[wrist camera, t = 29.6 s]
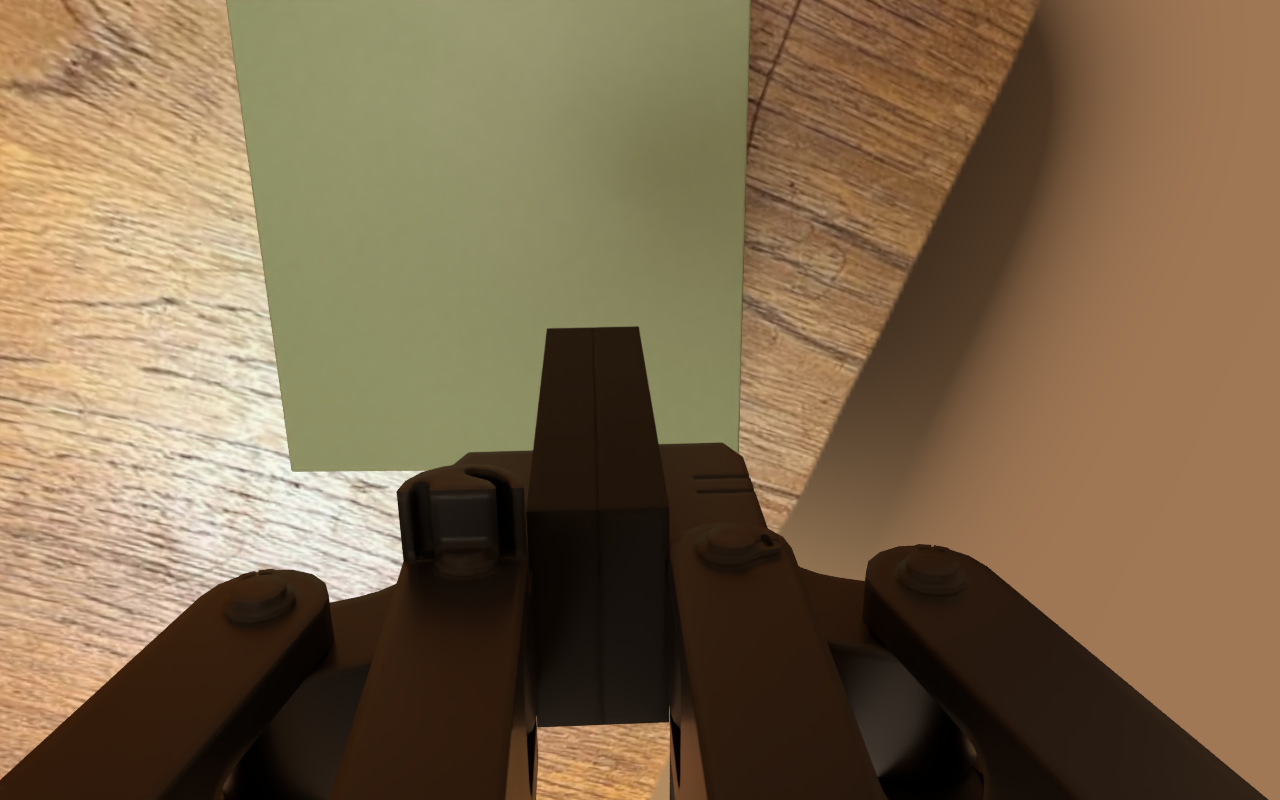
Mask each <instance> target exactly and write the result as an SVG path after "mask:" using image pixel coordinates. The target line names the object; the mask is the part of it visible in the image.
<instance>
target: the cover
mask: <svg viewBox="0 0 1280 800" xmlns="http://www.w3.org/2000/svg"><path fill="white" fill-rule="evenodd" d="M226 4H227V11H228V19H229V26H230V33H231V40H232V47H233V54H234V61H235V69H236V76H237V83H238V90H239V97H240V104H241V112H242V119H243V126H244V133H245V140H246V147H247V154H248V162H249V169H250V176H251V183H252V190H253V197H254V205H255V212H256V219H257V226H258V233H259V240H260V247H261V255H262V262H263V269H264V276H265V283H266V290H267V298H268V305H269V312H270V319H271V326H272V333H273V340H274V348H275V355H276V362H277V369H278V376H279V383H280V391H281V398H282V405H283V412H284V419H285V426H286V433H287V441H288V448H289V455H290V462H291V469H292V471H293V472H303V471H426V470H432V469H435V468H439V467H442V466H450V465H453V464H455V463H456V462H457V461H458V460H459V459H461V458H462V457H463V456H464V455H466V454H467V453H468V452H495V451H531V450H533V446H534V437H535V429H536V420H537V411H538V402H539V393H540V385H541V376H542V367H543V358H544V349H545V341H546V332H547V328H587V327H631V326H639V331H640V337H641V343H642V349H643V355H644V360H645V366H646V372H647V378H648V384H649V390H650V396H651V402H652V408H653V413H654V419H655V425H656V431H657V437H658V443H659V444H683V443H719V442H723V443H724V444H726V445H727V446H728V447H730V448H731V449H732V450H734V451H735V452H736V453H738V454H739V421H740V384H741V348H742V311H743V274H744V238H745V201H746V164H747V127H748V91H749V54H750V17H751V0H226Z"/></svg>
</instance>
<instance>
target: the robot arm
mask: <svg viewBox="0 0 1280 800" xmlns="http://www.w3.org/2000/svg"><path fill="white" fill-rule="evenodd" d="M397 500H398V510H399V520H400V530H401V540H402V550H403V560H404V562H403V565H402V568H401V572H400V575H399V578H398V581H397V584H395V585H393V586H390V587H388V588H385V589H383V590H381V591H378V592H375V593H371V594H367V595H364V596H360V597H355V598H351V599H346V600H341V601H336V602H332V603H330V602H329V595H328V591H327V588H326V584H325V583H324V582H323V581H321V580H320V579H319V578H317V577H316V576H314V575H313V574H309V573H305V572H300V571H296V570H274V569H266V570H259V572H255V571H253V572H249V573H245V574H242V575H240V576H239V577H237V578H234V579H231V580H229V581H226V582H224V583H221V584H219V585H217V586H216V587H214V588H213V589H211V590H210V591H208V592H207V593H205V594H204V595H202V596H201V597H200V598H198V599H197V600H196V601H195V602H194V603H193V604H192V605H191V606H190V607H189V608H188V609H186V610H185V611H184V612H183V613H182V614H181V615H180V616H179V617H178V618H177V619H176V620H174V621H173V622H172V623H171V624H170V625H169V626H168V627H167V628H166V629H165V630H163V631H162V632H161V633H160V634H159V635H158V636H157V637H156V638H155V639H154V640H153V641H151V642H150V643H149V644H148V645H147V646H146V647H145V648H144V649H143V650H142V651H141V652H139V653H138V654H137V655H136V656H135V657H134V658H133V659H132V660H131V661H130V662H129V663H127V664H126V665H125V666H124V667H123V668H122V669H121V670H120V671H119V672H118V673H117V674H115V675H114V676H113V677H112V678H111V679H110V680H109V681H108V682H107V683H106V684H105V685H103V686H102V687H101V688H100V689H99V690H98V691H97V692H96V693H95V694H94V695H93V696H91V697H90V698H89V699H88V700H87V701H86V702H85V703H84V704H83V705H82V706H81V707H79V708H78V709H77V710H76V711H75V712H74V713H73V714H72V715H71V716H70V717H68V718H67V719H66V720H65V721H64V722H63V723H62V724H61V725H60V726H59V727H58V728H56V729H55V730H54V731H53V732H52V733H51V734H50V735H49V736H48V737H47V738H46V739H44V740H43V741H42V742H41V743H40V744H39V745H38V746H37V747H36V748H35V749H34V750H32V751H31V752H30V753H29V754H28V755H27V756H26V757H25V758H24V759H23V760H22V761H20V762H19V763H18V764H17V765H16V766H15V767H14V768H13V769H12V770H11V771H10V772H8V773H7V774H6V775H5V776H4V777H3V778H2V779H1V780H0V800H536V789H537V772H538V742H537V727H558V726H584V725H609V724H634V723H659V722H669V707H670V800H1268V799H1267V798H1266V797H1264V796H1263V795H1262V794H1261V793H1259V792H1258V791H1257V790H1256V789H1255V788H1254V787H1252V786H1251V785H1250V784H1249V783H1248V782H1246V781H1245V780H1244V779H1243V778H1241V777H1240V776H1239V775H1238V774H1237V773H1235V772H1234V771H1233V770H1232V769H1230V768H1229V767H1228V766H1227V765H1226V764H1224V763H1223V762H1222V761H1221V760H1220V759H1219V758H1217V757H1216V756H1215V755H1214V754H1212V753H1211V752H1210V751H1209V750H1208V749H1206V748H1205V747H1204V746H1203V745H1202V744H1200V743H1199V742H1198V741H1197V740H1196V739H1194V738H1193V737H1192V736H1190V734H1188V733H1187V732H1186V731H1185V730H1184V729H1182V728H1181V727H1180V726H1179V725H1178V724H1176V723H1175V722H1174V721H1173V720H1171V719H1170V718H1169V717H1168V716H1167V715H1166V714H1164V713H1163V712H1162V711H1161V710H1159V709H1158V708H1157V707H1156V706H1154V705H1153V704H1152V703H1151V702H1150V701H1148V700H1147V699H1146V698H1145V697H1144V696H1143V695H1141V694H1140V693H1139V692H1138V691H1137V690H1135V689H1134V688H1133V687H1132V686H1131V685H1129V684H1128V683H1127V682H1126V681H1124V680H1123V679H1122V678H1121V677H1119V676H1118V675H1117V674H1116V673H1115V672H1114V671H1112V670H1111V669H1110V668H1109V667H1108V666H1106V665H1105V664H1104V663H1103V662H1102V661H1100V660H1099V659H1098V658H1097V657H1095V656H1094V655H1093V654H1092V653H1091V652H1089V651H1088V650H1087V649H1086V648H1085V647H1083V646H1082V645H1081V644H1080V643H1079V642H1077V641H1076V640H1075V639H1074V638H1073V637H1071V636H1070V635H1069V634H1068V633H1067V632H1065V631H1064V630H1063V629H1062V628H1060V627H1059V626H1058V625H1057V624H1056V623H1055V622H1053V621H1052V620H1051V619H1050V618H1048V617H1047V616H1046V615H1045V614H1044V613H1042V612H1041V611H1040V610H1039V609H1038V608H1036V607H1035V606H1034V605H1033V604H1031V603H1030V602H1029V601H1028V600H1027V599H1025V598H1024V597H1023V596H1022V595H1020V593H1018V592H1017V591H1016V590H1015V589H1014V588H1012V587H1011V586H1010V585H1009V584H1007V583H1006V582H1005V581H1004V580H1002V579H1001V578H1000V577H999V576H998V575H996V574H995V573H994V572H993V571H992V570H991V569H989V568H988V567H987V566H985V565H984V564H982V563H980V562H979V561H977V560H975V559H973V558H972V557H970V556H968V555H965V554H962V553H959V552H955V551H952V550H950V549H948V548H946V547H941V546H936V545H934V547H931V545H923V544H918V545H915V546H899V547H895V548H892V549H889V550H886V551H882V552H880V553H879V554H877V555H876V556H874V557H873V558H872V559H871V560H869V561H868V566H867V570H866V577H865V581H860V580H853V579H845V578H839V577H833V576H828V575H823V574H819V573H815V572H812V571H810V570H807V569H804V568H801V567H799V566H798V564H797V561H796V558H795V556H794V553H793V550H792V548H791V547H790V545H789V544H788V543H787V542H786V540H785V539H784V538H783V537H782V536H780V535H778V534H777V533H775V532H773V531H771V530H769V529H768V528H767V525H766V522H765V519H764V516H763V513H762V511H761V508H760V505H759V502H758V499H757V496H756V493H755V492H754V488H753V485H752V482H751V479H750V478H749V473H748V471H747V468H746V465H745V462H744V459H743V457H742V456H741V455H739V454H738V453H736V452H735V451H734V450H732V449H731V448H730V447H728V446H727V445H726V444H724V443H723V442H719V443H683V444H659V443H658V437H657V431H656V425H655V419H654V413H653V408H652V402H651V396H650V390H649V384H648V378H647V372H646V366H645V360H644V355H643V349H642V343H641V337H640V331H639V326H631V327H587V328H547V332H546V341H545V349H544V358H543V367H542V376H541V385H540V393H539V402H538V411H537V420H536V429H535V437H534V446H533V450H531V451H495V452H468V453H467V454H466V455H464V456H463V457H462V458H461V459H459V460H458V461H457V462H456V463H455V464H453V465H450V466H442V467H439V468H435V469H432V470H428V471H425V472H421V473H420V474H418V475H416V476H414V477H412V478H410V479H408V480H407V481H405V482H404V483H403V485H402V486H401V487H400V488H399V489H398V491H397ZM536 716H537V723H536Z"/></svg>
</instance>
